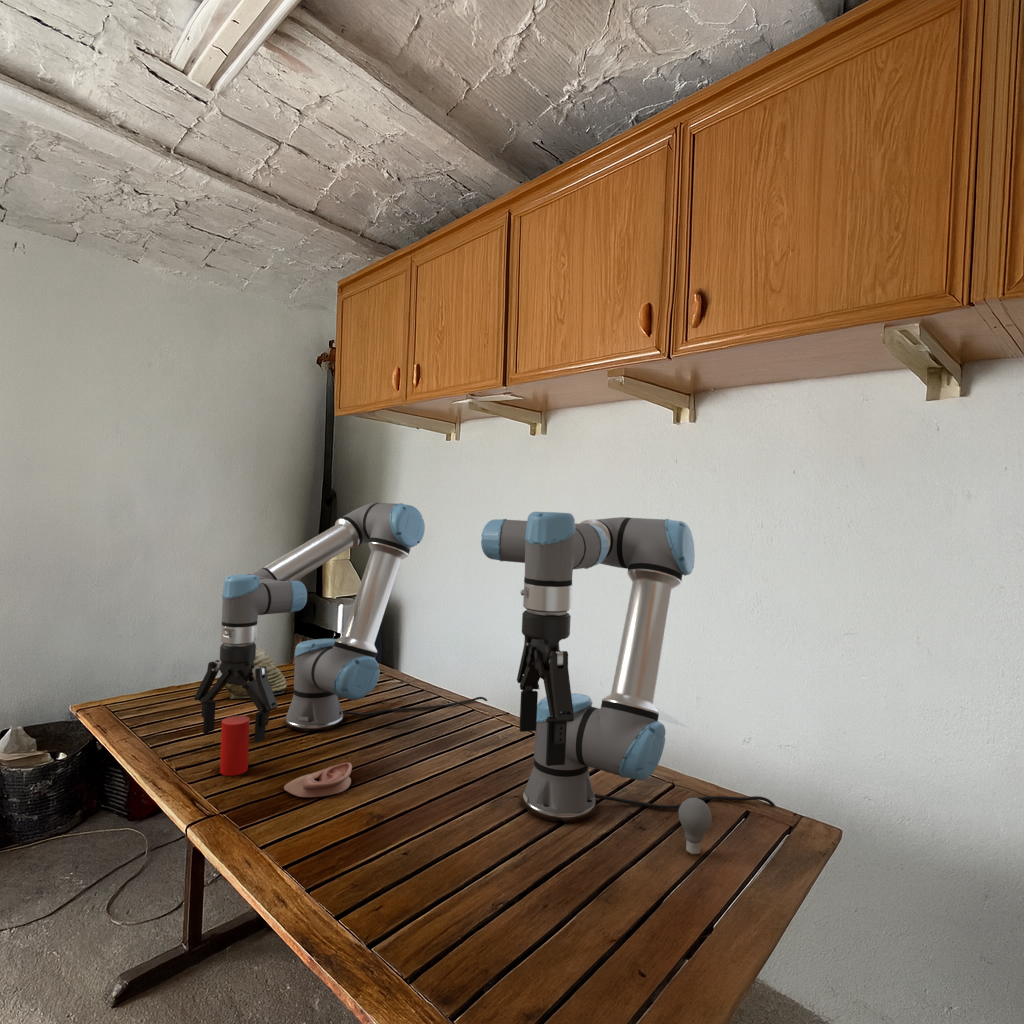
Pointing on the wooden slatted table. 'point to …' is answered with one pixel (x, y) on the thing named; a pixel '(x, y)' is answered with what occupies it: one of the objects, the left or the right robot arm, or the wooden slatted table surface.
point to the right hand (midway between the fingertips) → (540, 746)
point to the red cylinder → (234, 745)
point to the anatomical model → (321, 782)
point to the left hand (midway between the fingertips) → (233, 736)
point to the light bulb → (694, 822)
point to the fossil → (273, 676)
